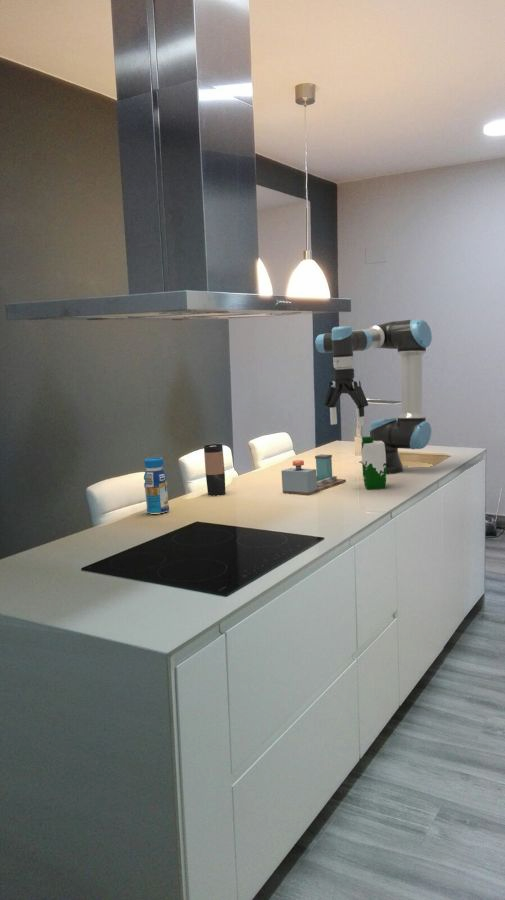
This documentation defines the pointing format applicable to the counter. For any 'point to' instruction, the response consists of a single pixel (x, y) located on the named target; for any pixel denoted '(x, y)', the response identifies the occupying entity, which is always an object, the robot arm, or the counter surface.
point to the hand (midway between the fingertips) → (346, 425)
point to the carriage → (323, 466)
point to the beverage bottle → (155, 486)
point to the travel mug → (214, 469)
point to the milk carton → (373, 463)
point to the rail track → (321, 485)
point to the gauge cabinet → (299, 480)
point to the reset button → (298, 464)
